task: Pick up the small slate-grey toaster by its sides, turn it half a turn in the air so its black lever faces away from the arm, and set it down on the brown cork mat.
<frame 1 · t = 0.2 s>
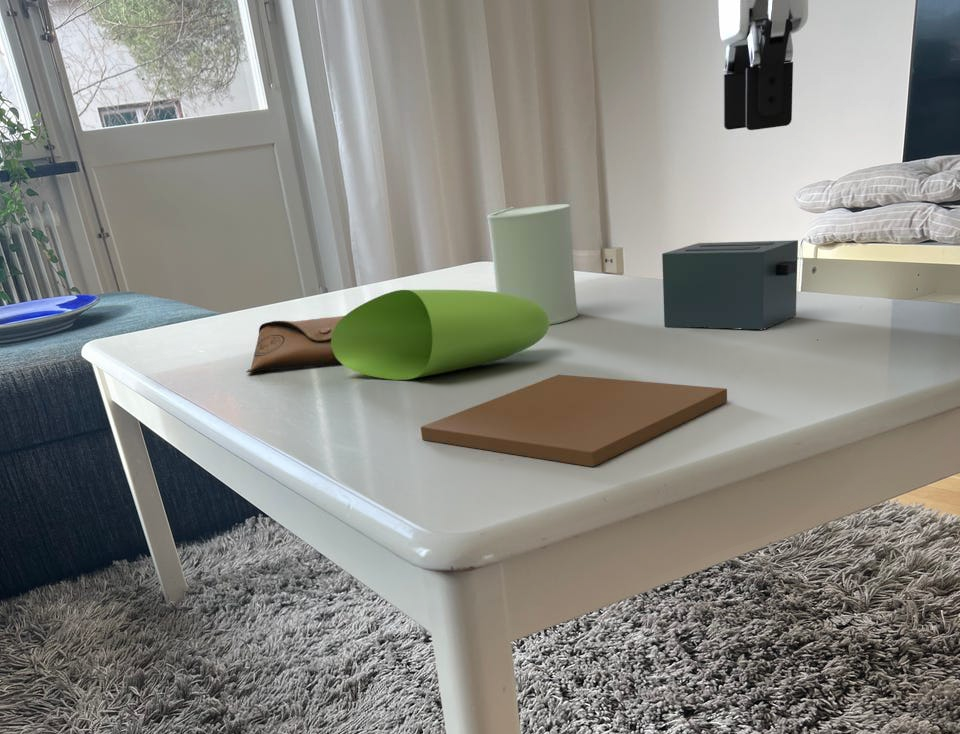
hand: (755, 127, 76), 17 cm above the table, tool pointing down, fingers open, 9 cm apart
toaster: (779, 323, 94), on the table
sunglasses case: (335, 361, 105), on the table
can: (538, 321, 111), on the table
mat: (573, 421, 72), on the table
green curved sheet: (451, 371, 93), on the table
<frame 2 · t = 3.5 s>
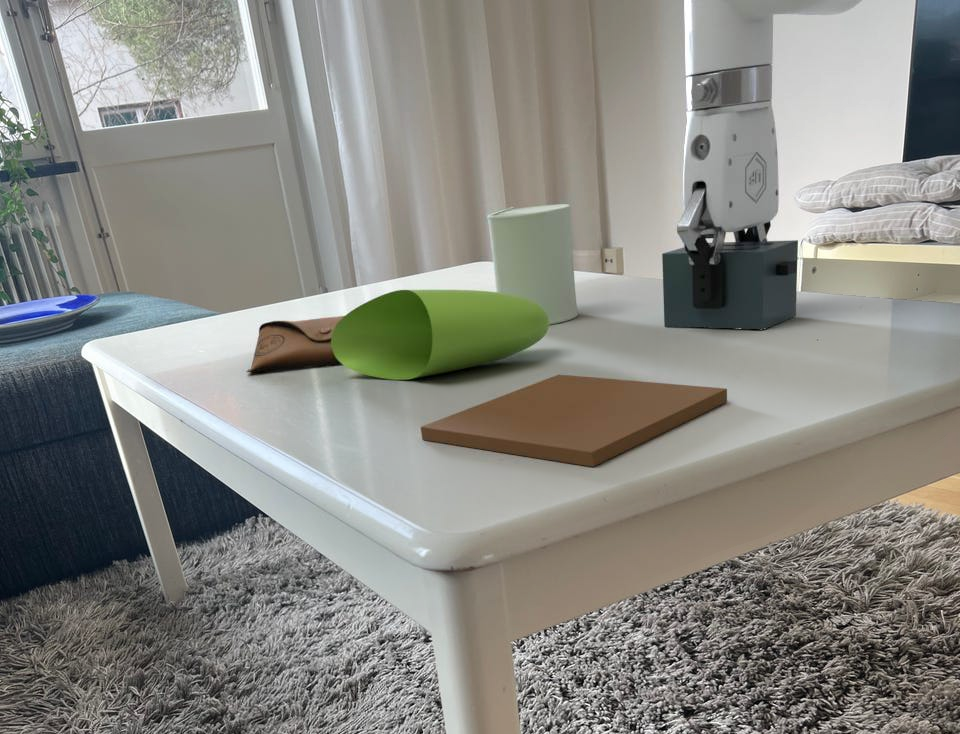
hand: (728, 298, 96), 2 cm above the table, tool pointing down, fingers closed on toaster, 6 cm apart
toaster: (779, 323, 94), on the table, touching gripper
everything else where it was.
when the fingers open (3 cm above the table, at t = 13.9 s): toaster stays where it is, resting on mat.
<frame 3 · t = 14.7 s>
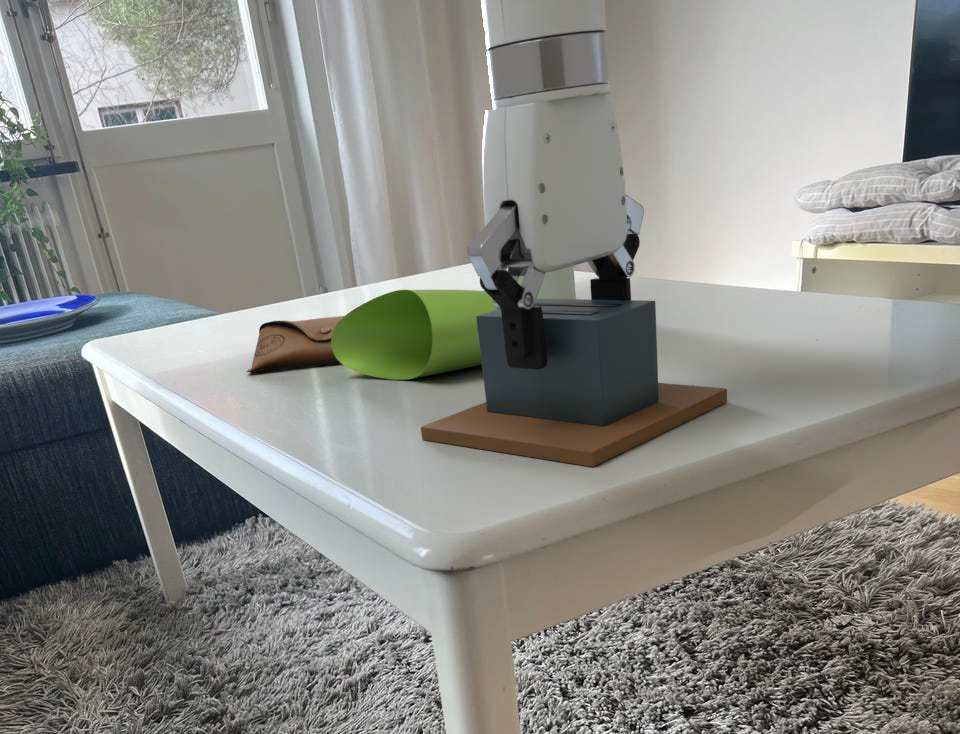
hand: (572, 350, 69), 5 cm above the table, tool pointing down, fingers open, 9 cm apart
toaster: (515, 401, 75), point 1 cm above the table, touching mat
everything else where it was.
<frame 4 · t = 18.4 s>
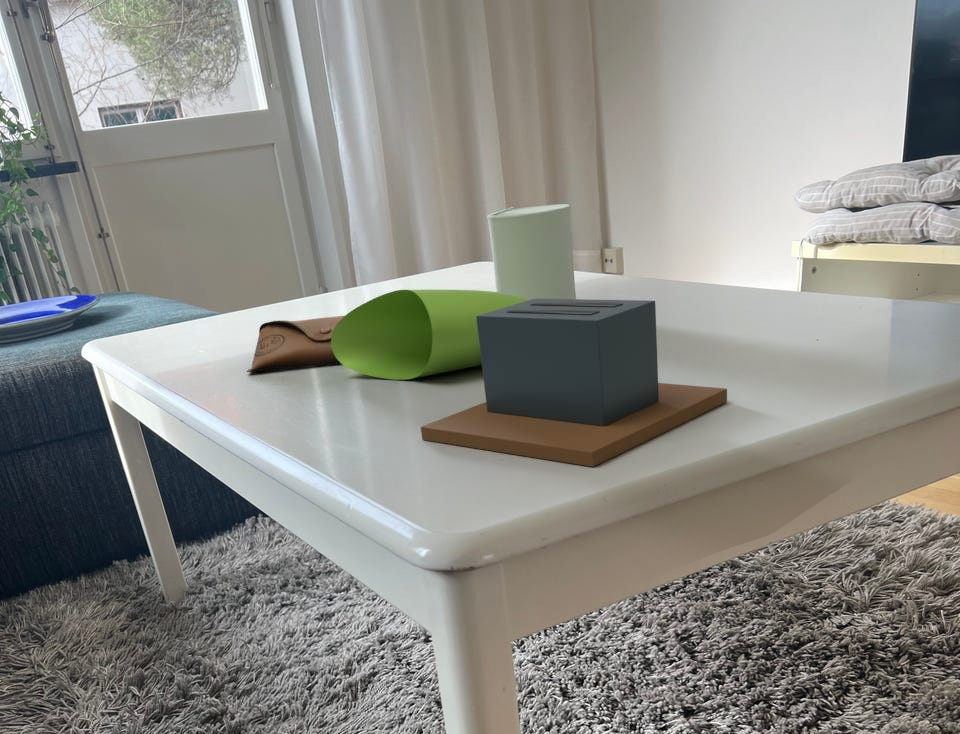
nothing on the table moved.
at the end: toaster 0.2 cm from the target spot on the mat, point 1.0 cm above the mat's base; toaster tilted 0°; the gripper is holding nothing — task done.
